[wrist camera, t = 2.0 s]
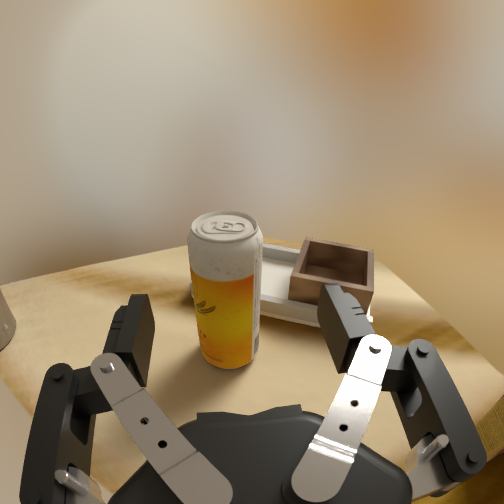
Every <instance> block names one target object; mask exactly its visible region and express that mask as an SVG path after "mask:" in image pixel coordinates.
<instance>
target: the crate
mask: <svg viewBox="0 0 504 504" xmlns="http://www.w3.org/2000/svg"><path fill="white" fill-rule="evenodd" d="M333 283H338V284H339V285H340V287H341V289H342V291H343V293H350V294H351V295H352V296H353V297H355V298H356V299H357V301H358V302H359V304H360V306H361V308H362V310H363V311H364V314H365V315H367V312H368V309H369V306H370V302H371V299H372V296H373V293H374V253H373V249H367V248H362V247H357V246H351V245H346V244H340V243H335V242H330V241H324V240H319V239H313V238H308V237H306V238H305V240H304V243H303V245H302V248H301V250H300V253H299V255H298V258H297V261H296V263H295V266H294V268H293V271H292V273H291V276H290V285H289V294H288V300H292V301H297V302H301V303H306V304H311V305H316V306H318V302H319V296H320V290H321V286H322V285H323V284H333Z"/></svg>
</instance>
